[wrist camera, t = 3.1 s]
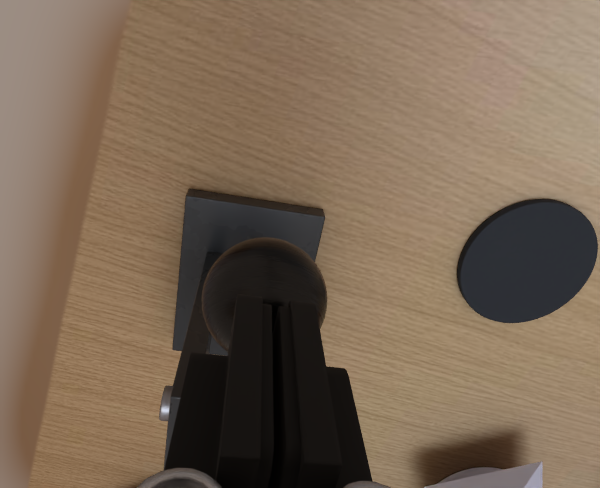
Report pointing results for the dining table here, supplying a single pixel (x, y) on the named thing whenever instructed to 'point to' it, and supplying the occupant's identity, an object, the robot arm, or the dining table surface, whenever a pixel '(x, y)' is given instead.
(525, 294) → the coaster
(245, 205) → the bracket
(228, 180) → the dining table surface
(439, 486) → the wedge on round base
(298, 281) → the lever
